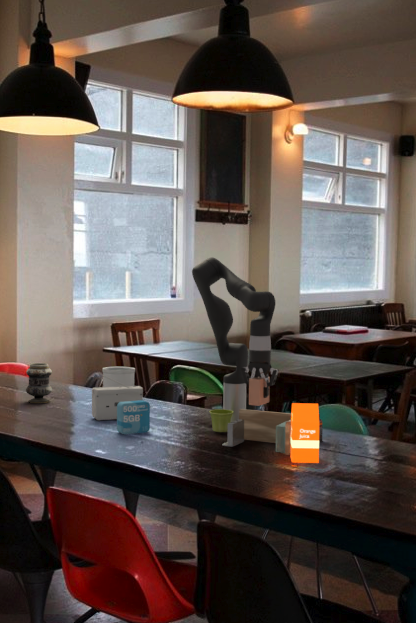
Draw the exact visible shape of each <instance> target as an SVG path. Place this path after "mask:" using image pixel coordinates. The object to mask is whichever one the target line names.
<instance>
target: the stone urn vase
mask: <svg viewBox="0 0 416 623" xmlns="http://www.w3.org/2000/svg"><path fill="white" fill-rule="evenodd" d="M52 374H53V371H52V369H51V368H50V366H49V363H46V362H31V363H30V364H29V368H28V369H27V370H26V375H27V376H28V385H27V386H26V388H25V392H26V393H27V394H28V395H29V396H31V397H34V398H31V399H29V400H28V401H27V402H28V403H29V402H30V403H29V404H46V403H49V402H51V401H50V399H47V398H45V397H46V396H48V395H50V394H51V393H52V391H53V389H52V387H51V386H50V376H51V375H52Z"/></svg>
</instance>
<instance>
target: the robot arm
mask: <svg viewBox="0 0 416 623" xmlns="http://www.w3.org/2000/svg"><path fill="white" fill-rule="evenodd" d="M191 273H192V278H193V281H194V283H195V285H196V288H197V290H198V292H199V294H200V297H201V299H202V301H203V304H204V309H205V311H206V315H207V318H208V321H209V324H210V326H211V329H212V332H213V335H214V338H215V342H216V347H217V352H218V355H219V360H220V361H221V363H222V364H223V365H224V366H229V367H230V366H231V367H235V370H234V371H233V372H230V373H228V374H225V375H224V376H223V404H222V405H223V407H222V408H223V409H225V410H231V411H233V412H234V413H233V414H232V417H231V422H233V421H236V420H238V419H239V409H247V385H248V386H249V379H251V378H255V377H260V378H262V379H263V384H264V390H263V397H264V398H267V396H269V397H270V387H271V386H274V385H275V383H276V381H277V377H278V374H279V369H277V368H274V367H272V365H271V360H272V358H271V357H272V356H271V354H272V353H271V352H272V344H271V343H272V341H271V323H272V320H273V316H274V311H275V309H276V298H275V295H274V294H273V293H272V292H271V291H257V289H256V288H255V287H254V286H253V285H252V284H251V283H248V282H247V281H245V280H243V278H240V277H238V276H237V275H236V274H235V273H234V272H233V271H232V270H231V269H229V267H228V266H226V265H225V264H223V262H221V261H220V260H219V259H217V258H215V257H213V256H212V257H211V256H209V257H207V258H206V259H204V260H202V261H201V262H200V263H198V264H196V265H195V266H194V267H193V268H192V269H191ZM220 279H223V280H224V281H225V287H226V290H227V292H228V294H229V295H230V296H232V298H235V300H237V301H239V302H241V303H242V305H243V306H244V307H245V308H246V309H247V310H248V311H250V312H254V313H259V314H258V316H257V317H255V318H253V319H251V320H250V328H249V329H250V330H249V334H250V335H249V343H248V344H249V348H248V346H247V345H246V344H245V343H236V342H235V343H233V342H229V340H228V335H229V332H230V330H231V329H232V326H233V323H234V317H233V314H232V310H231V307H230V305H229V303H228V302H227V301H225V300H224V299H223V298H221V297H219V296H218V295H215V294H214V293H213V292H212V290H211V286H212V285H213V284H215V283H217V282H218V281H219V280H220ZM248 361H249V363H248ZM249 371H250V374H251V376H250V374H249ZM269 373H270V375H271V376H269ZM269 377H270V382H269Z"/></svg>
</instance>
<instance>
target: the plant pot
mask: <svg viewBox="0 0 416 623" xmlns="http://www.w3.org/2000/svg"><path fill="white" fill-rule="evenodd" d="M233 413H234V412H233V411H231V410H225V409H222V408H221V409H220V408H219V409H218V408H217V409H211V410H209V414H210V418H211V426H212V431H213V432H216V433H228V423H231V417H232V414H233Z"/></svg>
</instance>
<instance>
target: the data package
mask: <svg viewBox="0 0 416 623" xmlns="http://www.w3.org/2000/svg"><path fill="white" fill-rule="evenodd" d="M150 409H151V405H150V403H149V402H148V401H146V400H138V401H125V402H119V403H118V404H117V419H116V429H117V432H118V433H119V434H122V435H131V434H132V435H133V434H143V433H148V432H149V431H150V428H151V423H150V422H151V421H150V420H151V418H150V417H151V416H150V415H151V412H150V411H151V410H150Z"/></svg>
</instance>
